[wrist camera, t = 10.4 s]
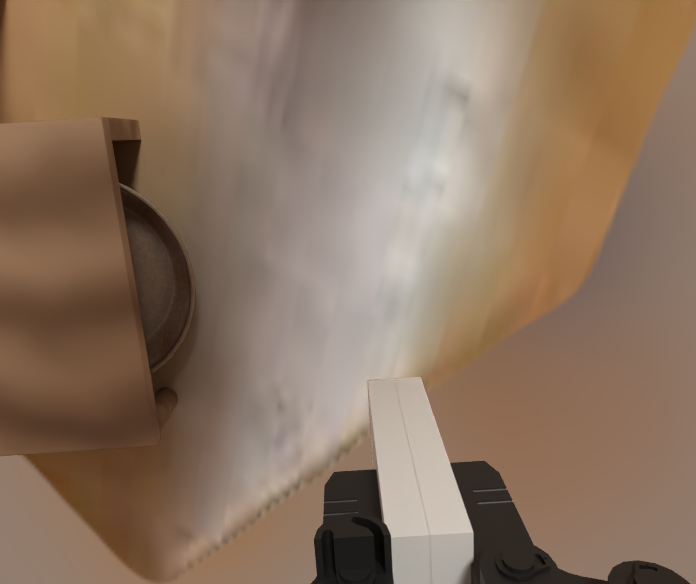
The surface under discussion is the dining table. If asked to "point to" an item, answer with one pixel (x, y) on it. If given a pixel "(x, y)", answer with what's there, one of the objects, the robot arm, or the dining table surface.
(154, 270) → the saucer
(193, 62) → the dining table surface
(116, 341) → the overhang shelf
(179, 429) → the dining table surface
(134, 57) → the dining table surface
